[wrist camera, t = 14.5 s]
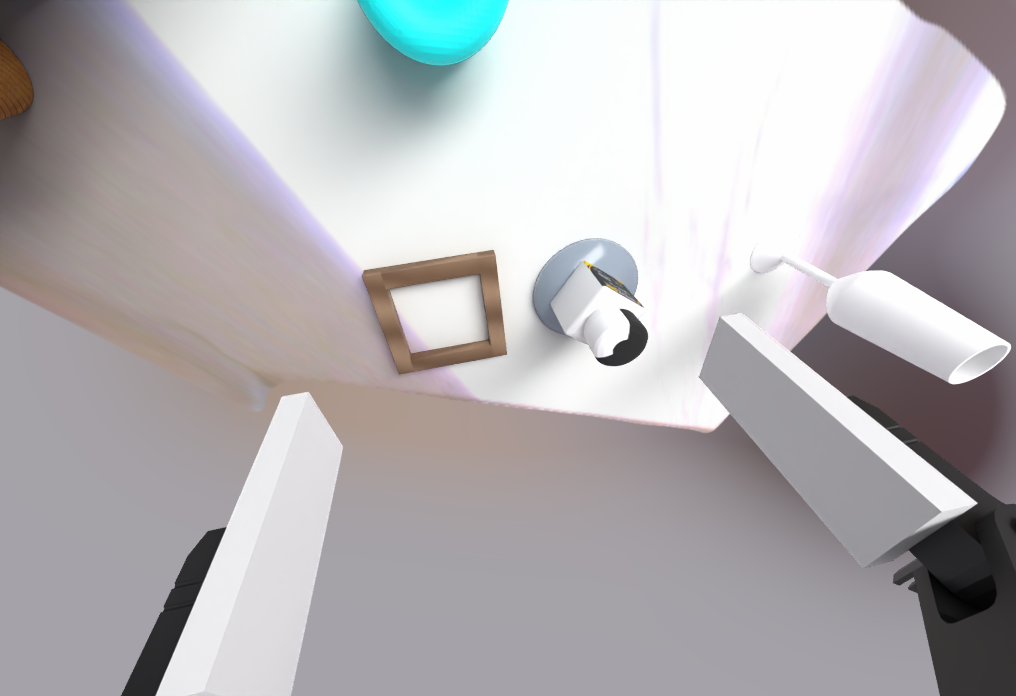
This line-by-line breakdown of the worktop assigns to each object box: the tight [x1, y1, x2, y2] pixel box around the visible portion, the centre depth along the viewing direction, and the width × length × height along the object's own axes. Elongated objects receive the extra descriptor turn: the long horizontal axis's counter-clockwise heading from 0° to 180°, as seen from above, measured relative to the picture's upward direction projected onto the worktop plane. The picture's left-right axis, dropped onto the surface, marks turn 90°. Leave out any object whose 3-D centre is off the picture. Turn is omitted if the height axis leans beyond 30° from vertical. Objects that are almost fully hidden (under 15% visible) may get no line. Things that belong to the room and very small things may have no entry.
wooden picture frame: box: [362, 250, 507, 374], centre depth 46 cm, size 15×15×2 cm
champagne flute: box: [750, 227, 1011, 384], centre depth 41 cm, size 7×7×24 cm
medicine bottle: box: [550, 260, 648, 366], centre depth 43 cm, size 7×7×12 cm
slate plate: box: [534, 238, 638, 335], centre depth 48 cm, size 14×14×1 cm
